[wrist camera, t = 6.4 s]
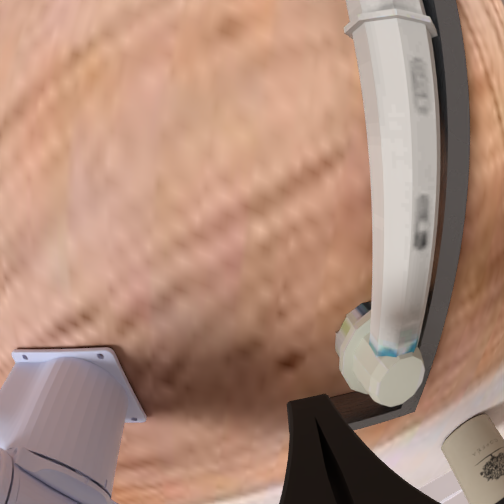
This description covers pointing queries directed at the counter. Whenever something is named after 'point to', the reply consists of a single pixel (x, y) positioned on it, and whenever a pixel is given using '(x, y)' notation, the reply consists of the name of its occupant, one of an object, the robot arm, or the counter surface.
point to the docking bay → (449, 213)
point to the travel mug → (477, 460)
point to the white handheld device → (395, 196)
